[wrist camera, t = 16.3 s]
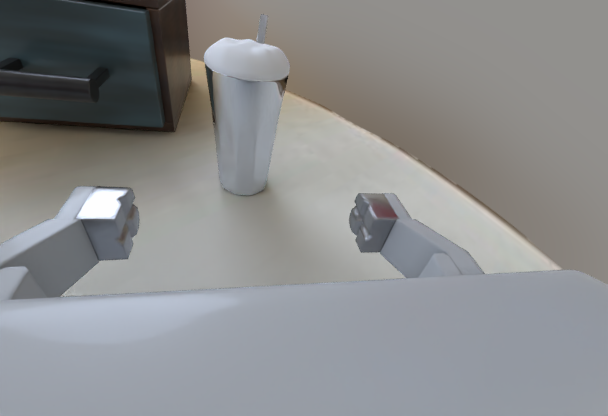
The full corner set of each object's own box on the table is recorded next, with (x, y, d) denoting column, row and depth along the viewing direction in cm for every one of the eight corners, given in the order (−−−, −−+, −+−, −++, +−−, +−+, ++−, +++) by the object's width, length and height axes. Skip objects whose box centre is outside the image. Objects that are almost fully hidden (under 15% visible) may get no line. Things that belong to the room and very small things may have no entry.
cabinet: (174, 132, 25) (157, -6, 19) (-7, 120, 22) (-97, -48, 16) (191, 79, 35) (183, -21, 29) (69, 67, 32) (31, -49, 26)
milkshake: (283, 167, 23) (302, 22, 17) (266, 208, 19) (284, 37, 13) (227, 155, 23) (227, 6, 17) (199, 193, 19) (185, 16, 13)
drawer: (152, 155, 20) (127, 25, 15) (-57, 146, 18) (-169, -16, 13) (183, 77, 33) (174, -9, 28) (63, 65, 30) (30, -33, 25)
